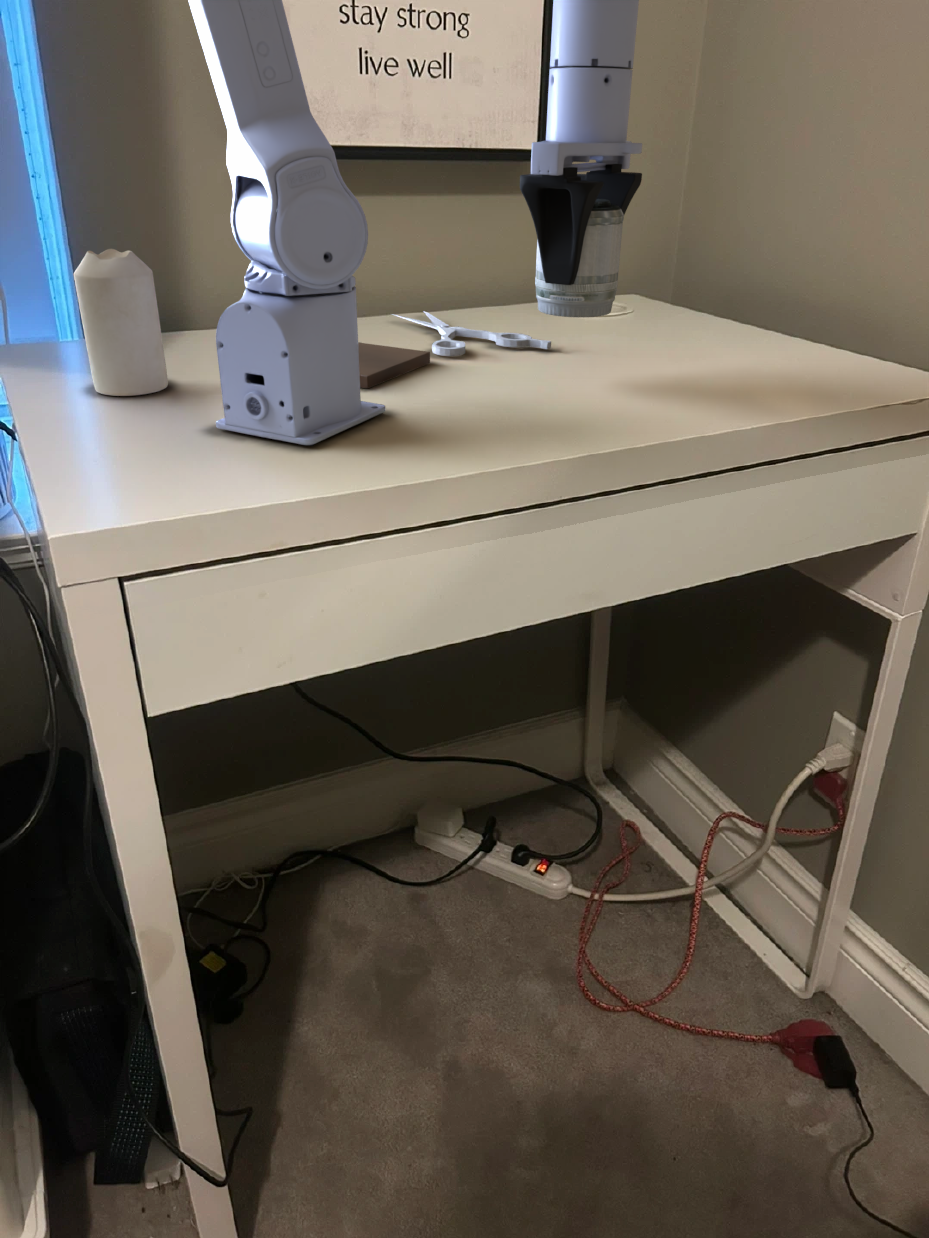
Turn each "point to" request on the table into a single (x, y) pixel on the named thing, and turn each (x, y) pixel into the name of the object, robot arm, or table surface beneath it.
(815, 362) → the table surface
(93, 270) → the candle
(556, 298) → the camera lens
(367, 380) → the walnut board
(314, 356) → the robot arm
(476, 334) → the scissors
